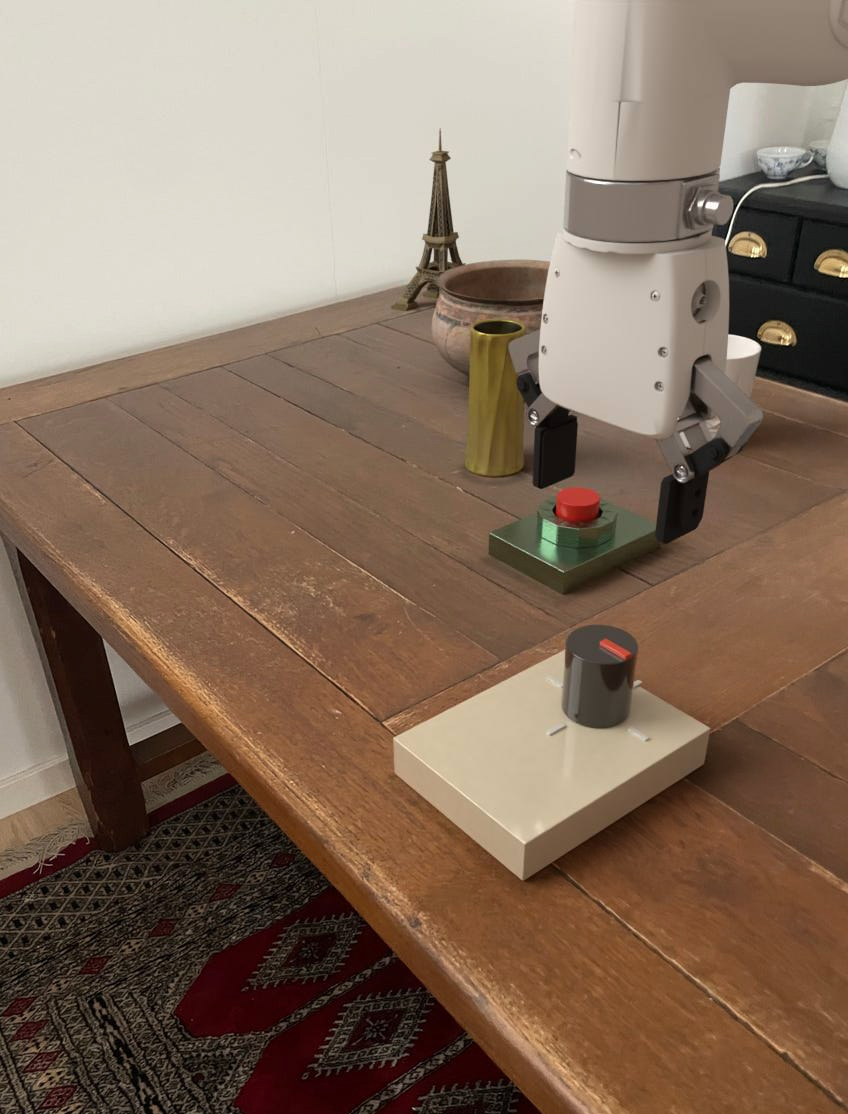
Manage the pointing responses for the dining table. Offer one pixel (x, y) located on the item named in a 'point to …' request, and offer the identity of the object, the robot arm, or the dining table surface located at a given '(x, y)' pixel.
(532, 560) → the green button box
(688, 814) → the dining table surface
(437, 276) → the eiffel tower
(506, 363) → the vase
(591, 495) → the ignition button
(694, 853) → the dining table surface
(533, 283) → the cooking pot
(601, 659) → the stove knob
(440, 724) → the beige knob base
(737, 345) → the white cup
